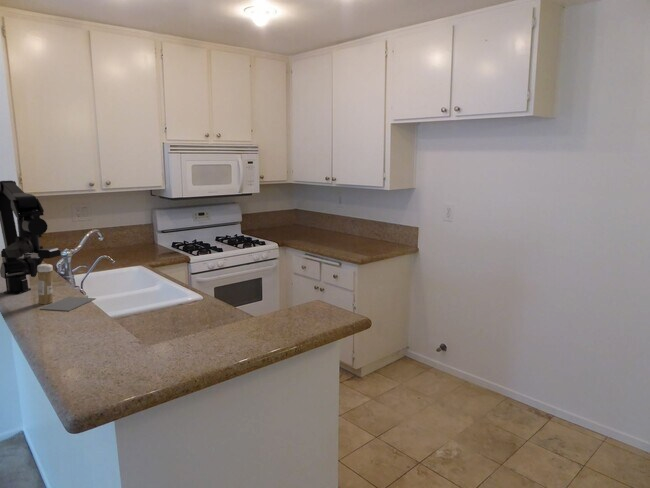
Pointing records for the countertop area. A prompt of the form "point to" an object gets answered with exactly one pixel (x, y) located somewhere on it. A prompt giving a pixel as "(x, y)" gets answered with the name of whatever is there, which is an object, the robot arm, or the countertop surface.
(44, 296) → the sprinkles bottle
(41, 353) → the countertop surface
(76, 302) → the mat
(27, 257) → the robot arm
